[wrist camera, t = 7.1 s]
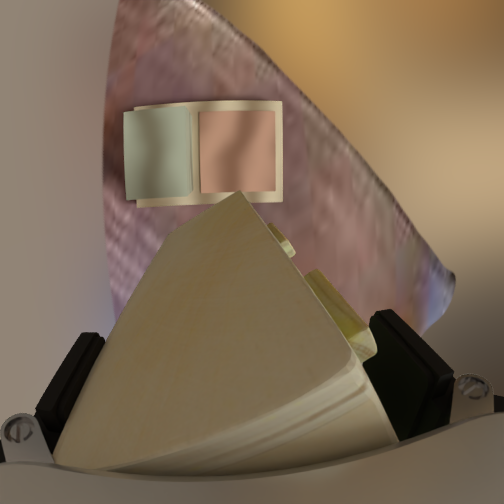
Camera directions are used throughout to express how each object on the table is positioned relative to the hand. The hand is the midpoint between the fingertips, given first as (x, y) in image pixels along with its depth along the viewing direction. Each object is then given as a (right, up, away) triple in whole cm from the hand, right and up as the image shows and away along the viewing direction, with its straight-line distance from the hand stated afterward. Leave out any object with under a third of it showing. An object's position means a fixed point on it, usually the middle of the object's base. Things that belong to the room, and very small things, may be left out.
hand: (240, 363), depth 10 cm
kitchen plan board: (-6, +18, +32) cm, 37 cm away
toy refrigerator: (-1, +4, +15) cm, 15 cm away
